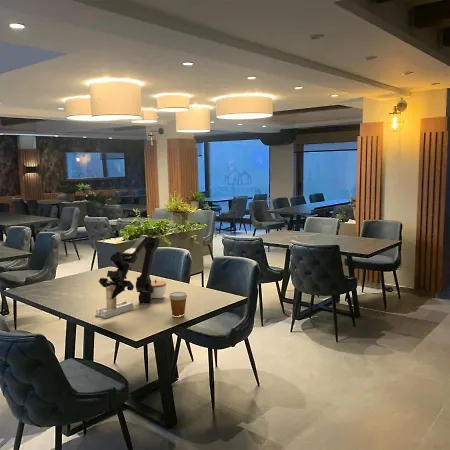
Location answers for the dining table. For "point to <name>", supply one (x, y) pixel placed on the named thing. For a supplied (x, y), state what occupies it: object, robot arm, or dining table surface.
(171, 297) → the disposable coffee cup
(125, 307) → the door track
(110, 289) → the beige tall block
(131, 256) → the robot arm
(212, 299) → the dining table surface
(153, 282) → the lidded bowl
